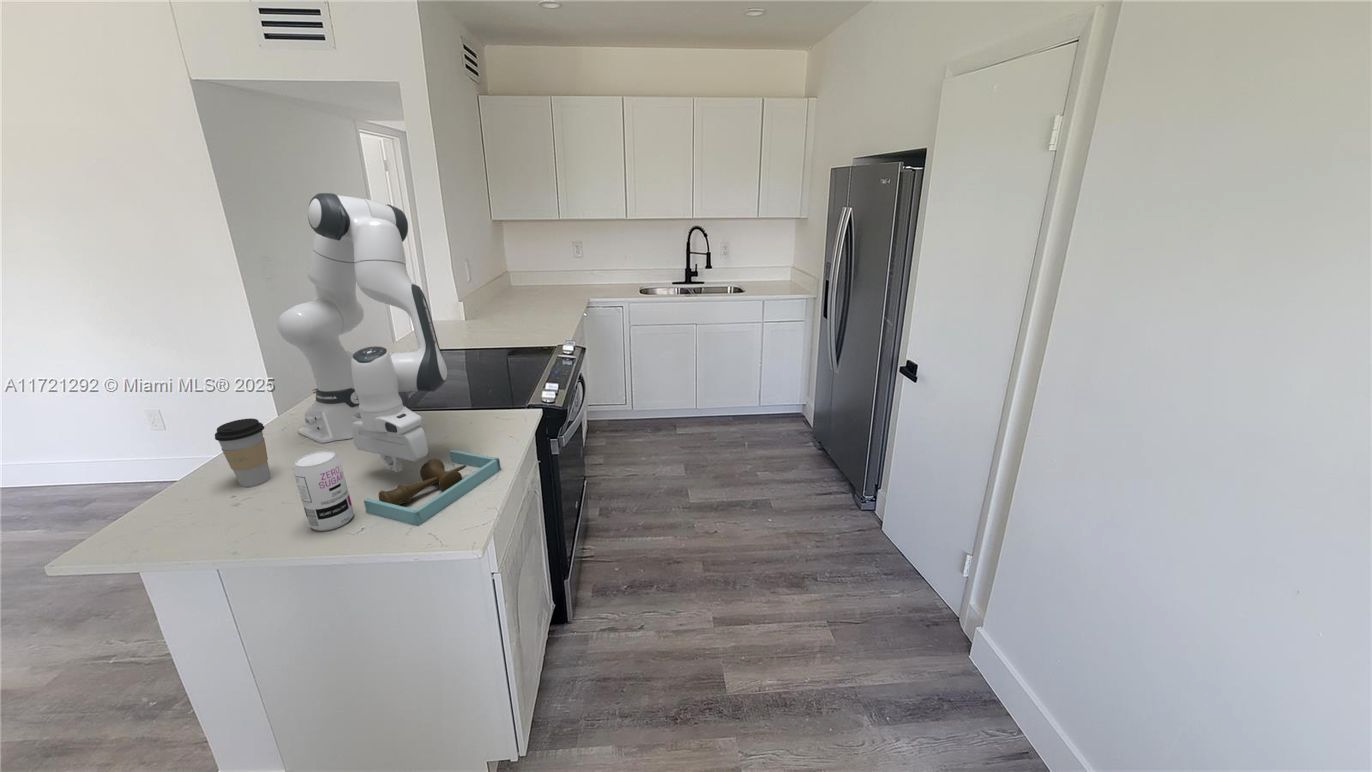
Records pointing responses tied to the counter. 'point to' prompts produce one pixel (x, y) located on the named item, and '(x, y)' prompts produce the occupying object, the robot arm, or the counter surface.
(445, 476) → the kendama
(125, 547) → the counter surface
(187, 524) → the counter surface
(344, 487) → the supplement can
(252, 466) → the coffee cup
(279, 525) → the counter surface
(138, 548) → the counter surface
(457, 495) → the open rectangular frame
